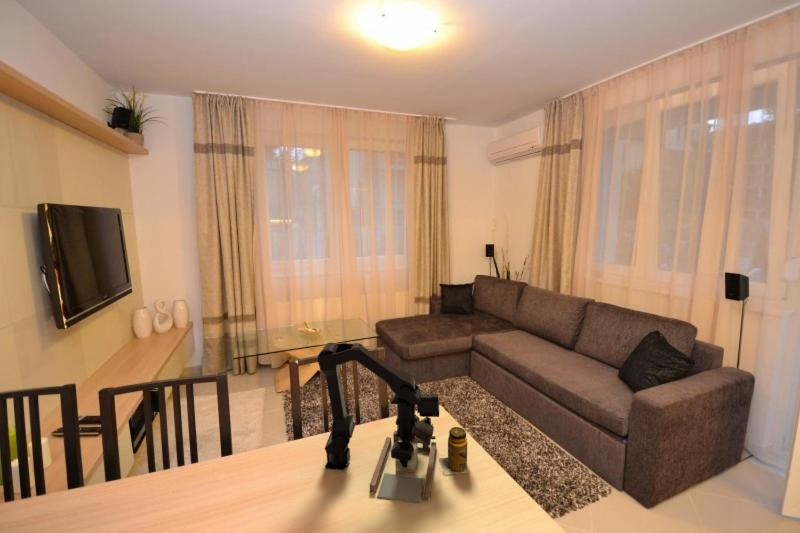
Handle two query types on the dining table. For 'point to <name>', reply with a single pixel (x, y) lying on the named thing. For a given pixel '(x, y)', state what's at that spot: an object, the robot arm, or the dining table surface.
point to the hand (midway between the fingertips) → (406, 459)
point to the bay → (383, 457)
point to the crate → (411, 463)
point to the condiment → (456, 453)
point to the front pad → (401, 488)
